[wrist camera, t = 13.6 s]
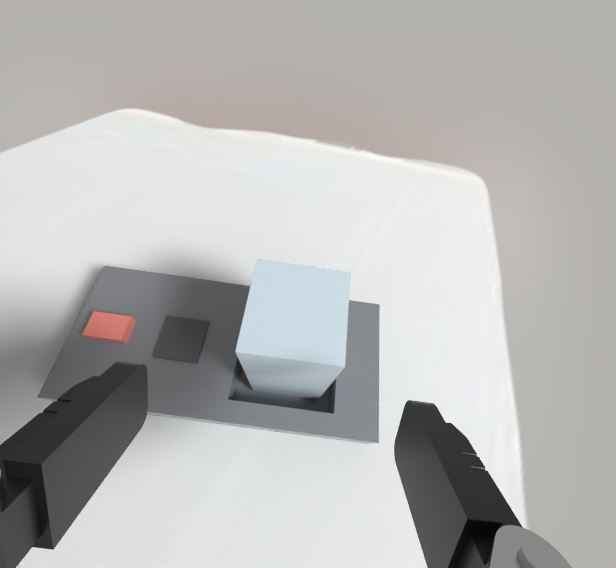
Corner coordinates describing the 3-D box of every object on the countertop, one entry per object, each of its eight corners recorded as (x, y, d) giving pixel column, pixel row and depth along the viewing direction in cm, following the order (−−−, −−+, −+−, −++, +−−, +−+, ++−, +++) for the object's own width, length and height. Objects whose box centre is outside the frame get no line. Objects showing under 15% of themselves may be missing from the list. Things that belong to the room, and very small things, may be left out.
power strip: (68, 403, 20) (27, 395, 17) (123, 285, 25) (98, 259, 21) (365, 443, 21) (382, 442, 17) (368, 319, 25) (382, 300, 22)
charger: (253, 391, 21) (235, 351, 12) (265, 328, 23) (257, 256, 15) (317, 399, 21) (345, 366, 13) (323, 336, 24) (350, 269, 15)
